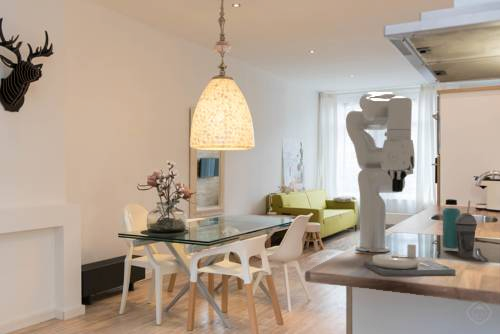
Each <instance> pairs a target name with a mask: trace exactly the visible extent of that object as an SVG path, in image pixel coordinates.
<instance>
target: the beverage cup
mask: <svg viewBox="0 0 500 334" xmlns="http://www.w3.org/2000/svg"><path fill="white" fill-rule="evenodd" d="M467 204H468V205H467V211H466V212H462V213H460V215H459V216H458V217H457V218H456V221H455V227H456V230H457V242H458V249H457V251H458V257H461V258H474V249H475V248H474V247H475V240H476V239H475V238H476V230H477V226H478V223H477V220H476V218H475V216H474V215H473V214H471V213H470V207H471V206H470V205H471V200H468V203H467Z"/></svg>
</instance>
